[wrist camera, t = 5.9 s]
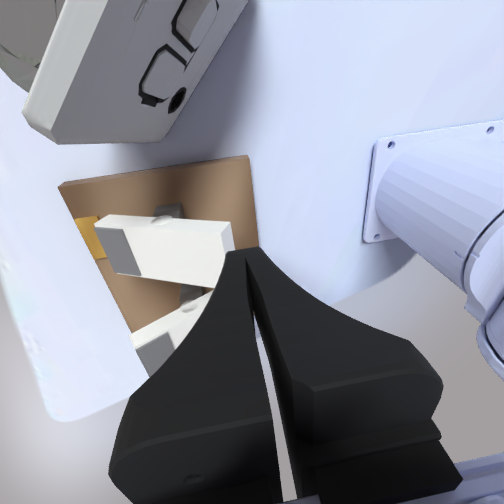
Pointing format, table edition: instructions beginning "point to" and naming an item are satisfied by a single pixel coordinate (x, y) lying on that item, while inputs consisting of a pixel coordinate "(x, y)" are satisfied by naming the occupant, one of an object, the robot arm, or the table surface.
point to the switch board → (160, 187)
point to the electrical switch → (110, 63)
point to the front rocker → (166, 247)
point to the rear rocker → (166, 333)
